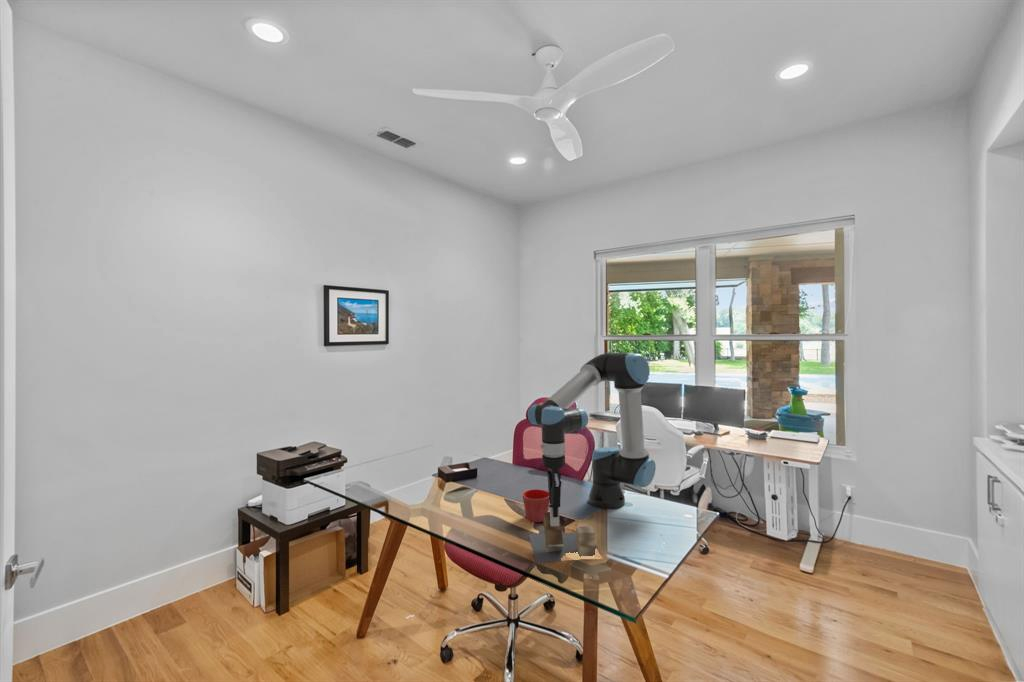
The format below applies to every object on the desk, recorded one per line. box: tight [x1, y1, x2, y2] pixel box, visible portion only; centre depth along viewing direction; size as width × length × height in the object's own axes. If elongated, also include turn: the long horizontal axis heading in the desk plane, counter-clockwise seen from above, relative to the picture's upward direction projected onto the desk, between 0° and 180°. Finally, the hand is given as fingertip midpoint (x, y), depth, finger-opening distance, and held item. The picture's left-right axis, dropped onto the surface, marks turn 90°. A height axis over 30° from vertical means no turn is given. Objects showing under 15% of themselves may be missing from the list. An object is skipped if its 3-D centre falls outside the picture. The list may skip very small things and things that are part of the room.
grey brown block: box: [542, 512, 564, 552], centre depth 154 cm, size 5×5×11 cm
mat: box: [528, 531, 599, 564], centre depth 156 cm, size 22×20×1 cm
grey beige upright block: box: [575, 525, 596, 557], centre depth 150 cm, size 5×5×8 cm
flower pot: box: [522, 489, 550, 523], centre depth 180 cm, size 11×11×10 cm
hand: (554, 525), depth 151 cm, fingers closed
